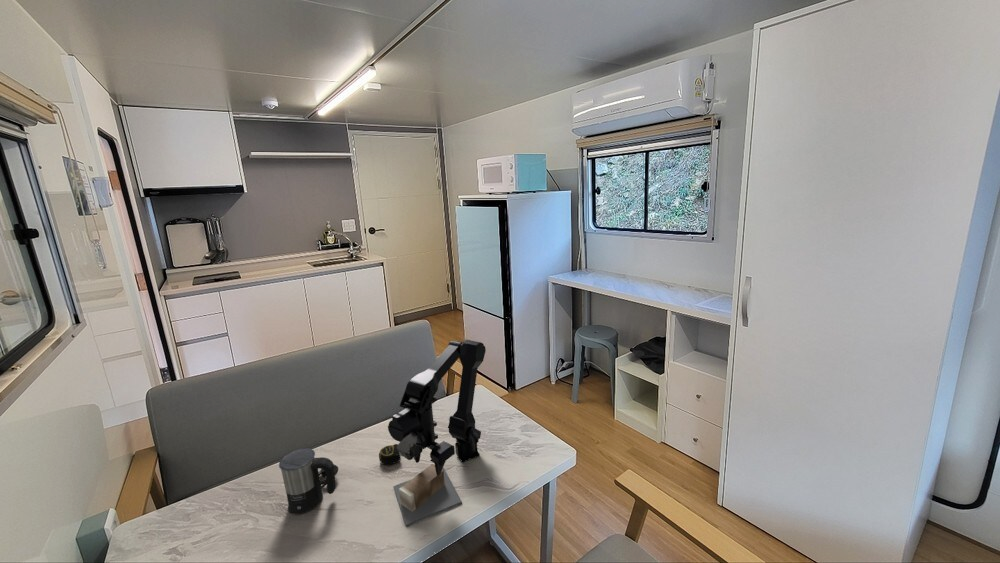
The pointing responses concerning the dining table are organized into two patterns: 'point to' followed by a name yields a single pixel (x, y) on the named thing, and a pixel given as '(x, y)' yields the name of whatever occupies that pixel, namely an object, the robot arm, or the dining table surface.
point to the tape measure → (389, 454)
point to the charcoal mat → (430, 502)
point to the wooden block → (421, 488)
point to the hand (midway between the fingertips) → (428, 468)
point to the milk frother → (306, 479)
